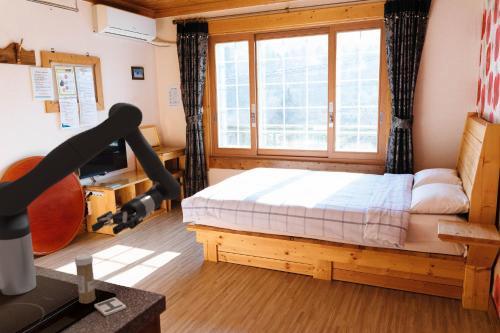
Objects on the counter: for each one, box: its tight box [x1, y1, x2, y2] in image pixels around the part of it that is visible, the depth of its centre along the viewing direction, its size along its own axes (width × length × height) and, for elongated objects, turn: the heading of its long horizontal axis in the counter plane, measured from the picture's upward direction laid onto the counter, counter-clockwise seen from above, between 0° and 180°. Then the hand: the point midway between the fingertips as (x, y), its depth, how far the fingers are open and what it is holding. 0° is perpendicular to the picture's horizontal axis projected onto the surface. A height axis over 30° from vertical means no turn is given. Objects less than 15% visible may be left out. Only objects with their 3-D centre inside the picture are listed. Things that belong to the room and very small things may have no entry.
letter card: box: [94, 296, 127, 317], centre depth 111 cm, size 7×6×1 cm
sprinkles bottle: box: [74, 253, 96, 305], centre depth 114 cm, size 5×5×14 cm
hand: (103, 230), depth 120 cm, fingers open, 8 cm apart
